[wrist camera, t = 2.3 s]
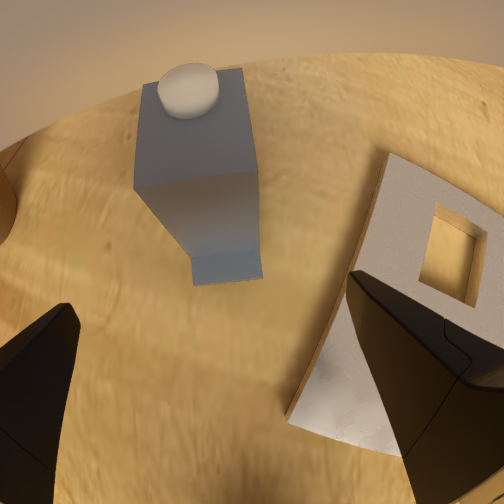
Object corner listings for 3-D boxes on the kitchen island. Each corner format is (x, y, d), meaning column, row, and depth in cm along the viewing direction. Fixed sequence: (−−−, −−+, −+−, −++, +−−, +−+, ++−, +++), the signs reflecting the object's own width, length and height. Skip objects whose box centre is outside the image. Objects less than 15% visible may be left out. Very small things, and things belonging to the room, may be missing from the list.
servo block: (262, 284, 23) (265, 205, 9) (201, 291, 23) (120, 225, 9) (248, 173, 25) (237, 30, 12) (193, 180, 25) (141, 47, 12)
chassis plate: (448, 460, 18) (459, 467, 16) (284, 415, 20) (286, 422, 18) (511, 237, 23) (523, 231, 21) (382, 164, 25) (389, 152, 23)
